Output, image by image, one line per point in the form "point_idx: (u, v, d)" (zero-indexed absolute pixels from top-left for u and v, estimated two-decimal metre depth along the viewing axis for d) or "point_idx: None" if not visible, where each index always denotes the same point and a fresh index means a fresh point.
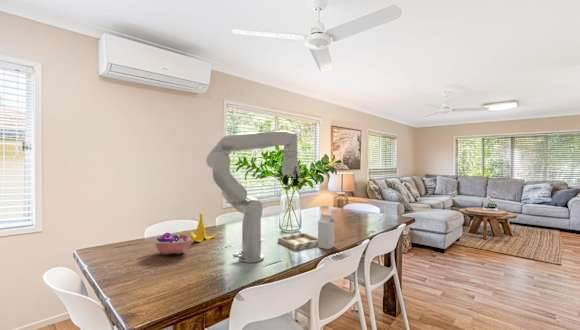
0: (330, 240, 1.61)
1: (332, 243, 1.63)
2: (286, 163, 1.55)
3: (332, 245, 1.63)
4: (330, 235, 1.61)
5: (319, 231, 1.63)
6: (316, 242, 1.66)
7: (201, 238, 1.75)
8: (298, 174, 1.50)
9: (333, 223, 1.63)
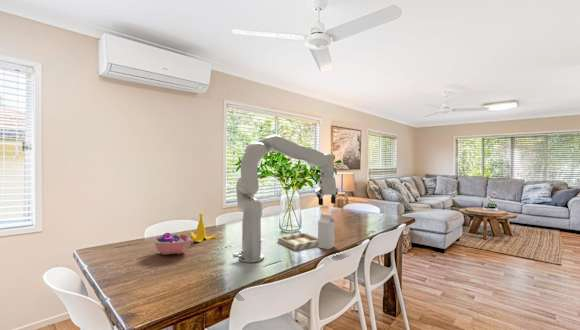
0: (330, 240, 1.61)
1: (332, 243, 1.63)
2: (330, 183, 1.61)
3: (332, 245, 1.63)
4: (330, 235, 1.61)
5: (319, 231, 1.63)
6: (316, 242, 1.66)
7: (201, 238, 1.75)
8: None
9: (333, 223, 1.63)
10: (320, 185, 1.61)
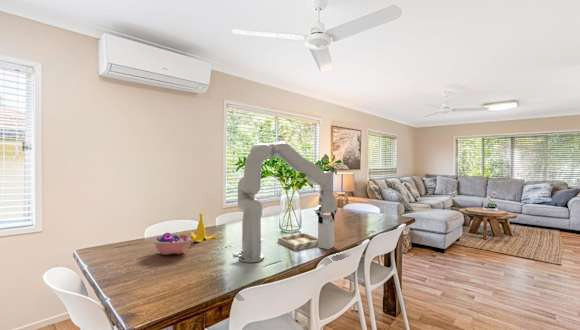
0: (330, 240, 1.61)
1: (332, 243, 1.63)
2: (329, 201, 1.61)
3: (332, 245, 1.63)
4: (330, 235, 1.61)
5: (319, 231, 1.62)
6: (316, 242, 1.66)
7: (201, 238, 1.75)
8: (336, 210, 1.68)
9: (333, 223, 1.63)
10: (320, 203, 1.61)
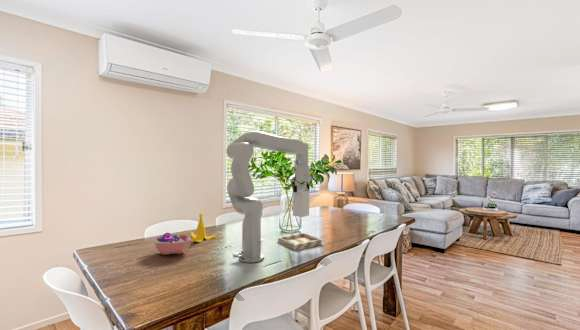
0: (305, 209, 1.67)
1: (306, 212, 1.68)
2: (304, 171, 1.67)
3: (306, 214, 1.68)
4: (304, 203, 1.66)
5: (294, 200, 1.68)
6: (316, 242, 1.66)
7: (201, 238, 1.75)
8: (311, 180, 1.73)
9: (308, 192, 1.69)
10: (294, 172, 1.66)
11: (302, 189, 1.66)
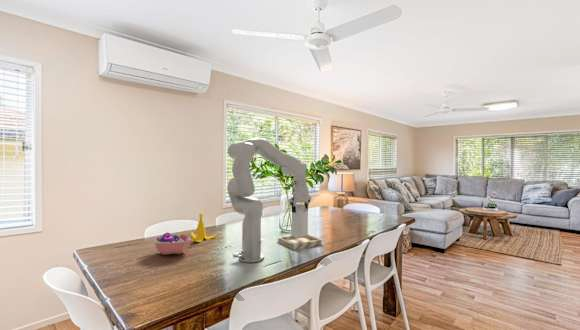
0: (303, 229, 1.68)
1: (305, 231, 1.69)
2: (302, 191, 1.67)
3: (305, 233, 1.69)
4: (303, 223, 1.67)
5: (293, 220, 1.69)
6: (316, 242, 1.66)
7: (201, 238, 1.75)
8: None
9: (306, 212, 1.70)
10: (293, 193, 1.67)
11: (301, 209, 1.67)
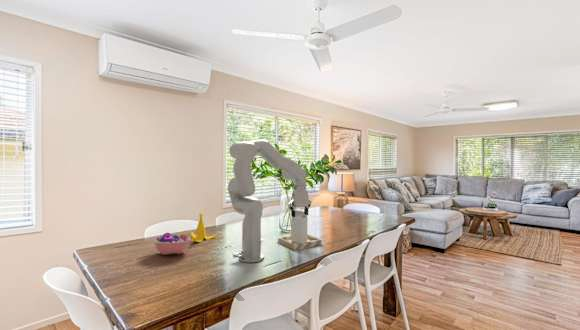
0: (303, 235, 1.67)
1: (305, 238, 1.69)
2: (302, 196, 1.67)
3: (305, 240, 1.69)
4: (302, 230, 1.67)
5: (292, 226, 1.69)
6: (316, 242, 1.66)
7: (201, 239, 1.75)
8: (310, 204, 1.74)
9: (306, 219, 1.69)
10: (293, 198, 1.67)
11: (300, 216, 1.67)
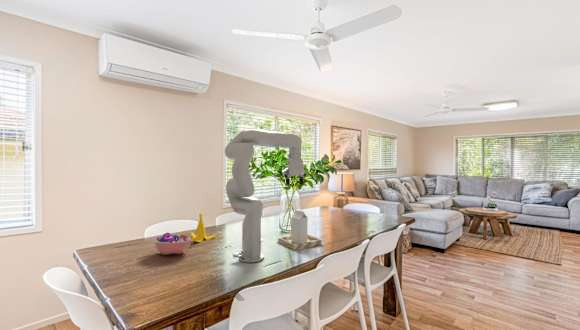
0: (303, 235, 1.68)
1: (305, 238, 1.69)
2: (297, 164, 1.69)
3: (305, 240, 1.69)
4: (302, 230, 1.67)
5: (292, 226, 1.69)
6: (316, 242, 1.66)
7: (201, 239, 1.75)
8: (305, 173, 1.75)
9: (306, 219, 1.69)
10: (287, 166, 1.69)
11: (300, 216, 1.67)
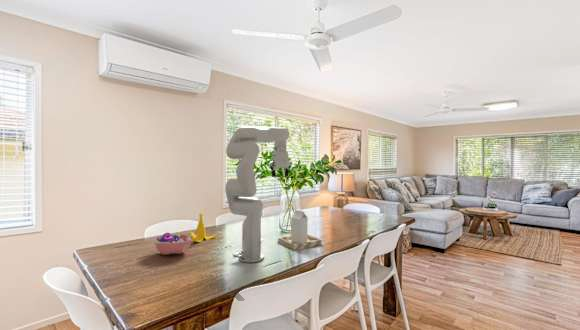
0: (303, 235, 1.68)
1: (305, 238, 1.69)
2: (282, 157, 1.74)
3: (305, 240, 1.69)
4: (302, 230, 1.67)
5: (292, 226, 1.69)
6: (316, 242, 1.66)
7: (201, 239, 1.75)
8: None
9: (306, 219, 1.69)
10: (273, 158, 1.74)
11: (300, 216, 1.67)
